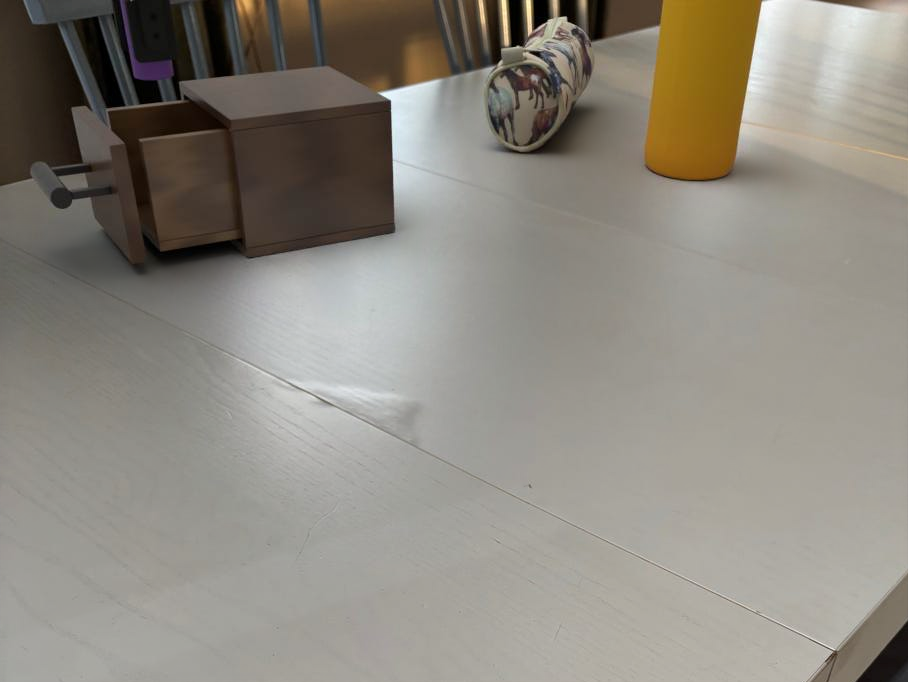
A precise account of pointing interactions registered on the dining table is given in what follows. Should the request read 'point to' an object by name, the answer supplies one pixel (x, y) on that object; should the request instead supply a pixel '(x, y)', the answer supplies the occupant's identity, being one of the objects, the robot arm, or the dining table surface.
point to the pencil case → (538, 84)
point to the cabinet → (304, 156)
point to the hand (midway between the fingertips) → (149, 52)
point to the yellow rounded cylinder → (700, 86)
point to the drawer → (152, 176)
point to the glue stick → (149, 69)
